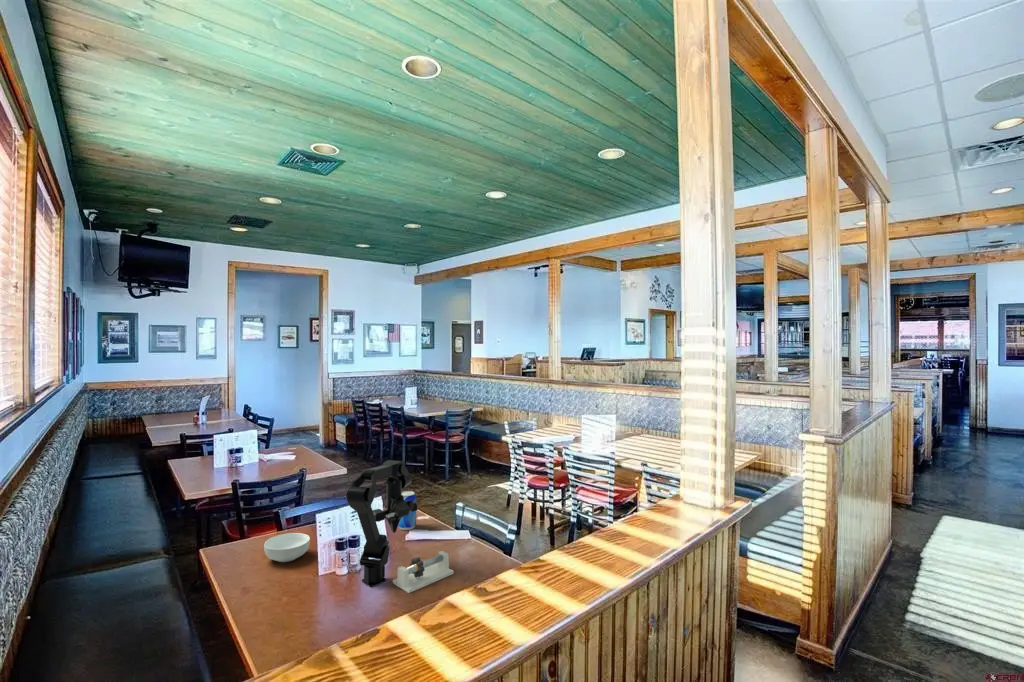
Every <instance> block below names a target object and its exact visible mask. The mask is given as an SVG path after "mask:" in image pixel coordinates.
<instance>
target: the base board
mask: <svg viewBox="0 0 1024 682" xmlns="http://www.w3.org/2000/svg"><path fill="white" fill-rule="evenodd" d="M438 555H442V556H443V561H441V562H439V563H436V564H434V565H431V566H429V567H426V568H424V572H423V576H420V577H415V576H414V574H412V573H411V574H409V569H407V567H405V566H403V565H402V566H398V567H397V574H396V575H397V578H396V579H393V580H392V584H393V585H395V586H397V587H398V588H400V589H402V590H403V591H405V593H408V594H410V593H412V592H414V591H417V590H419V589H422V588H423V587H426V586H428V585H430V584H433V583H435V582H437V581H440V580H442V579H445V578H447V577H450V576H451V575H453V574H454V573H455V572H454V570H453V569H450V568H449V567H450V564H449V562H450V560H449V558H450V557H449V556H450V555H449V553H448V552H446V551H443V550H440V551H438V552H437V556H438Z"/></svg>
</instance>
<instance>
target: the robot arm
mask: <svg viewBox="0 0 1024 682" xmlns="http://www.w3.org/2000/svg"><path fill="white" fill-rule="evenodd" d="M384 478H386V480H384V484H386V494H384V498H385V499H386V504H384V508H385V509H384V510H383V509H380V508H376V509H373V508H372V504H373V502H374V500H375V499H374V497H375V495H376V492H377V481H378V480H380V479H384ZM366 481H368V482H371V485H370V487H366V486H364V487H363V486H362V485H363V484H364V483H365V482H366ZM412 482H413V477H412V474H411V473H410V472H409V470H408V468H407V467H406V465H405V463H404V461H403V460H390V459H388V460H386V461H384V462H383V463H382V465H378V466H376V467H375V466H374V467H371V468H365V469H363V470H362V471H361V473H360V475H359V476H358V477H357V478H355V479H354V480H353V481H352V482H351V484H350V486H349V487H348V489H347V492H346V494H345V498H346V502H347V504H348V505H349V507H350V508H351V509H353V510H354V511H355V512H356V514H357V517H358V519H359V523H360V526H361V528H362V532H363V535H364V537H365V544H364V545H363V551H362V554H361V556H360V559H359V565H360V566H361V567H362V566H363V579H361V582H362V583H364V584H365V585H367V586H368V587H374V586H377V585H380V584H382V583H385V582H386V581H387V578H385V575H386V572H385V571H386V566H385V565H387V564H388V561H389V557H390V546H389V543H390V542H389V540H388V536H387V535H386V534H380V531H379V527H378V524H377V522H381V521H384V520H386V521H387V524H388V525H389V527H390V531H391V532H392V533H393V534H395V533H397V530H398V528H399V527H398V524H399V521H400V519H401V518H402V517H403V516H406V515H409V512H410V511H411V512H413V511H416V512H417V511H418V510H419V506H418V503H417V502H416V503H415V502H413V501H412V500H411V501H404V497H403V495H402V492H403V491H402V489H404V488H406V487H407V486H409V485H411V484H412Z"/></svg>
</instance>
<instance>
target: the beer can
mask: <svg viewBox="0 0 1024 682" xmlns="http://www.w3.org/2000/svg"><path fill="white" fill-rule="evenodd" d="M402 495H403V497H404V501H411V500H412V501H413V502H415V503H417V496H416V494H415V491H411V490H405V491H402ZM416 525H417V511H413V512H411V511H410V512H409V515H406V516H403V517H402V518H401V519H400V521H399V524H398V527H397V528H399V529H400V530H402V531H411V530H413V529H415V527H416Z"/></svg>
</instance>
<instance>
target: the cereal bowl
mask: <svg viewBox="0 0 1024 682" xmlns="http://www.w3.org/2000/svg"><path fill="white" fill-rule="evenodd" d="M263 544H264V545H263V546H264V548H263V549H264V554H265V556H266V557H267V558H268V559H270V560H273V561H276V562H279V563H287V562H292V561H294V560H296V559H297V558H300V557H301V556H303V555H304V554H305V553H306V552H307V551H308V549H309V547H310V544H311V538H310V535H308V534H305V533H299V532H289V533H283V534H278V535H274V536H273V537H272V536H271V537H270V538H268V539H267V540H266V541H265V542H264V543H263Z"/></svg>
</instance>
